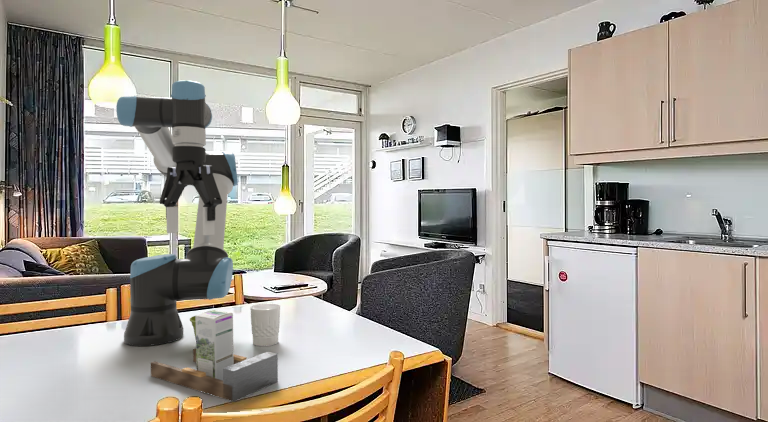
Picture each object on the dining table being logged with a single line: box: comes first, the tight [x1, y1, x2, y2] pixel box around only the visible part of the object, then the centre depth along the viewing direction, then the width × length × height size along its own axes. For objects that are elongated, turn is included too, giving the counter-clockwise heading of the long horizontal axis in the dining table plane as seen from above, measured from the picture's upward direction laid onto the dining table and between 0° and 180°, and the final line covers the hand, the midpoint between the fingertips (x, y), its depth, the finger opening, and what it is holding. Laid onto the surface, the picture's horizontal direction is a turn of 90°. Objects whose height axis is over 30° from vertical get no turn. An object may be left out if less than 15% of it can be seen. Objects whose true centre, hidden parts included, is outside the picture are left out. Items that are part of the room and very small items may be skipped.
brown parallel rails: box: [150, 348, 248, 402], centre depth 105 cm, size 26×12×4 cm, turn 59°
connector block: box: [222, 351, 279, 402], centre depth 98 cm, size 3×12×6 cm, turn 149°
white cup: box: [249, 302, 281, 347], centre depth 130 cm, size 8×8×10 cm
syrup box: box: [195, 309, 234, 380], centre depth 104 cm, size 6×6×14 cm
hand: (190, 234), depth 117 cm, fingers open, 13 cm apart
